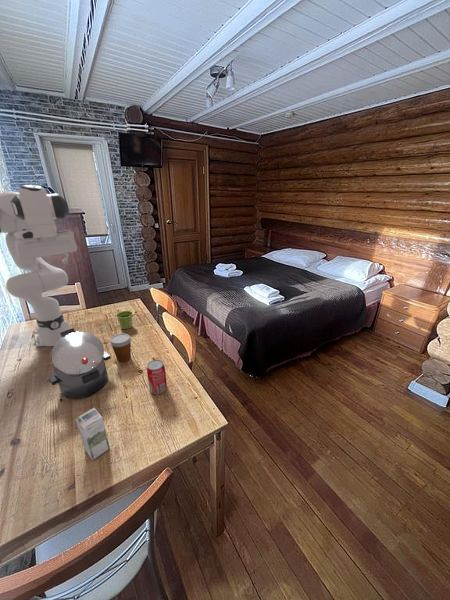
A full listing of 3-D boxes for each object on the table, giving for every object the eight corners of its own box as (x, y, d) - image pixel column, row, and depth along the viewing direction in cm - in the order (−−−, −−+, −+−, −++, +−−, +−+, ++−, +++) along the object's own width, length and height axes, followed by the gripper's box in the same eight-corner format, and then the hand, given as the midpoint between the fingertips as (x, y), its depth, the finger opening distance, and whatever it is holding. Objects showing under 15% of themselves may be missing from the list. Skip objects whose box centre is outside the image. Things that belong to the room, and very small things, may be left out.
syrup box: (102, 438, 86) (93, 406, 81) (110, 449, 83) (102, 416, 77) (84, 450, 83) (74, 417, 77) (92, 462, 79) (82, 428, 73)
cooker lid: (41, 341, 99) (40, 337, 97) (89, 324, 111) (89, 320, 109) (64, 384, 94) (64, 380, 91) (111, 361, 106) (112, 358, 104)
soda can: (170, 387, 109) (168, 362, 103) (158, 398, 103) (155, 372, 98) (158, 381, 112) (155, 356, 107) (145, 391, 106) (142, 366, 101)
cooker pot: (48, 387, 108) (41, 366, 103) (102, 362, 123) (97, 343, 119) (65, 412, 96) (58, 390, 92) (122, 381, 112) (118, 360, 107)
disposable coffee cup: (125, 366, 121) (121, 345, 116) (109, 362, 124) (104, 341, 119) (138, 355, 129) (135, 334, 124) (122, 351, 132) (118, 331, 127)
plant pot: (114, 329, 152) (112, 316, 148) (124, 322, 160) (122, 309, 157) (128, 332, 150) (126, 318, 146) (137, 324, 158) (136, 311, 154)
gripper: (69, 227, 107) (76, 259, 113) (8, 233, 93) (20, 269, 99) (75, 229, 104) (82, 262, 109) (13, 235, 89) (25, 273, 95)
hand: (52, 266), depth 104 cm, fingers open, 8 cm apart
